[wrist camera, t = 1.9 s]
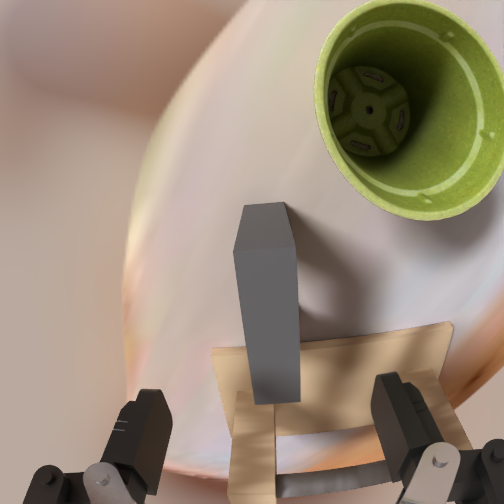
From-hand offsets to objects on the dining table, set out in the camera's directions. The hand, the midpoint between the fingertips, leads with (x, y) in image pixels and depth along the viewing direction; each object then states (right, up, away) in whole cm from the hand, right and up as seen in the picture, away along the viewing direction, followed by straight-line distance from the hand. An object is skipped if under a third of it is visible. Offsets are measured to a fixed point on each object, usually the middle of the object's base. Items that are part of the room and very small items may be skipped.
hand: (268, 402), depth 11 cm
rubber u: (+1, +4, +11) cm, 12 cm away
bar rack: (+7, -6, +15) cm, 18 cm away
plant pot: (+7, +14, +7) cm, 17 cm away
